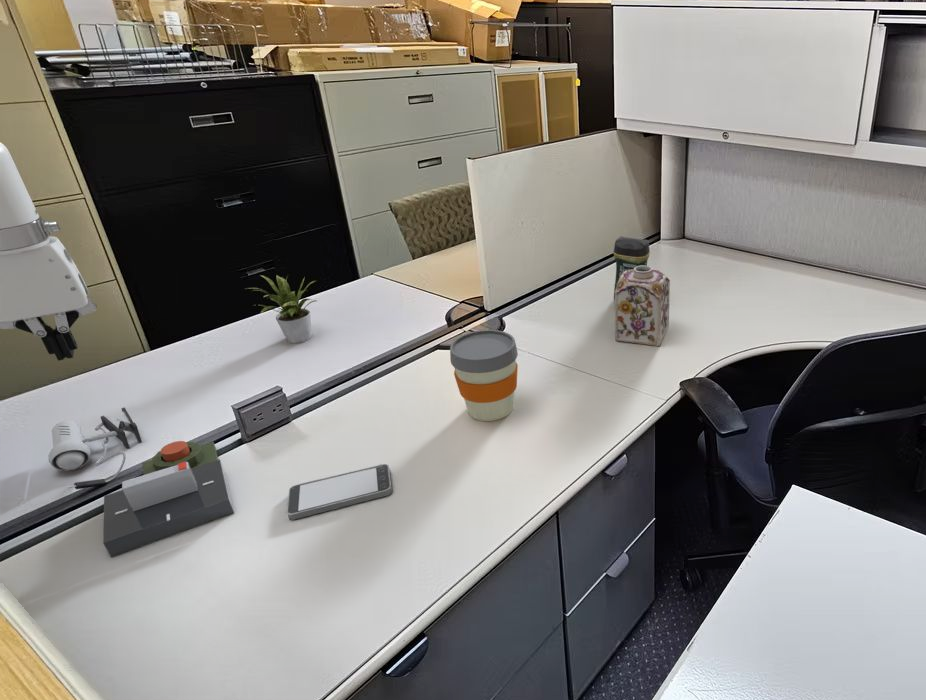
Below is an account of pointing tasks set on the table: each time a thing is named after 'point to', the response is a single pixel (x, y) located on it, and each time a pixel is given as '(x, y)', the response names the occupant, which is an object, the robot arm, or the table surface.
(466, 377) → the reusable coffee cup
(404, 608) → the table surface
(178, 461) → the button housing
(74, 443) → the clip-on lamp
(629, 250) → the coffee jar
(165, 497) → the bevelled grey block
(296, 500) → the smartphone
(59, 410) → the table surface
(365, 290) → the table surface
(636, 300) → the decorative jar
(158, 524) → the dial base
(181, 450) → the button
